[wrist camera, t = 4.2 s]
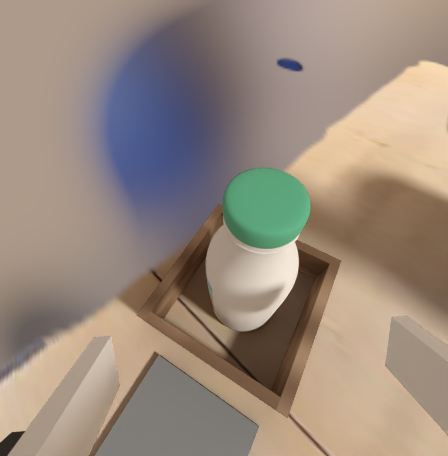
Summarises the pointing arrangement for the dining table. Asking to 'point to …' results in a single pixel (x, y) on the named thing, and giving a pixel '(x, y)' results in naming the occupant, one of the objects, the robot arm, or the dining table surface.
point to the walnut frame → (302, 338)
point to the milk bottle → (256, 247)
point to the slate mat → (177, 420)
